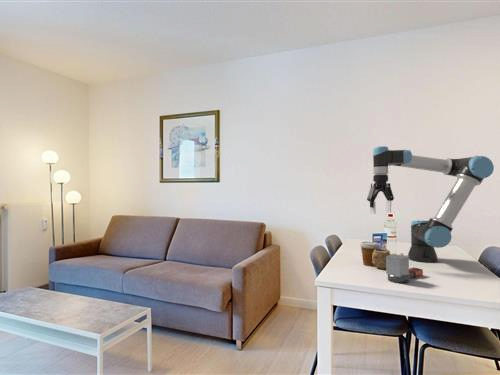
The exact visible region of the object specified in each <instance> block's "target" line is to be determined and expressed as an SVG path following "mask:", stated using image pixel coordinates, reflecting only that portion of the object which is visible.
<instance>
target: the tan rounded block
mask: <svg viewBox="0 0 500 375" xmlns="http://www.w3.org/2000/svg"><path fill="white" fill-rule="evenodd" d="M390 252H391V251H390V250H389V249H386V248H379V247H378V249H374V252H373V254H372V263H373V265H374V266H373V267H376V268H378V269H381V270H386V256H389V255H391V253H390ZM399 255H401V256H405V255H404V253H403V252H401V253H400V254H399Z"/></svg>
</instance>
